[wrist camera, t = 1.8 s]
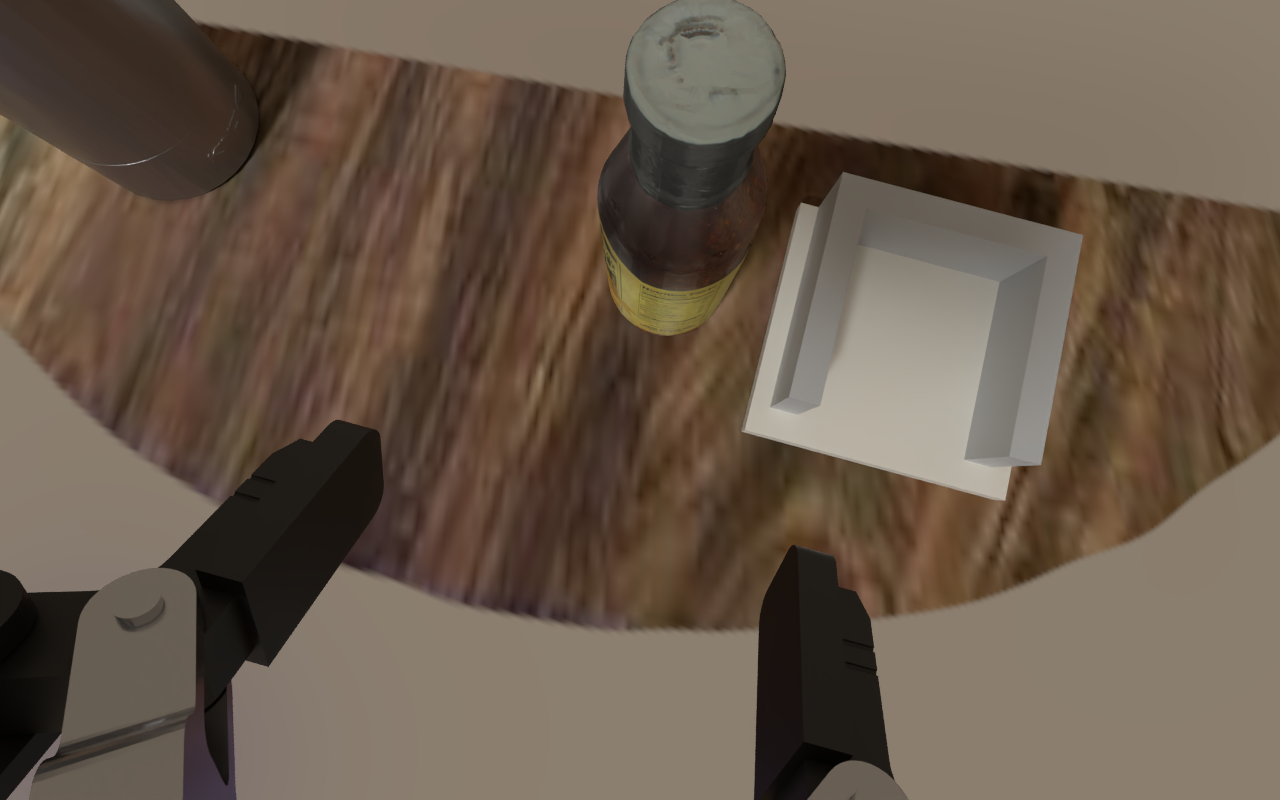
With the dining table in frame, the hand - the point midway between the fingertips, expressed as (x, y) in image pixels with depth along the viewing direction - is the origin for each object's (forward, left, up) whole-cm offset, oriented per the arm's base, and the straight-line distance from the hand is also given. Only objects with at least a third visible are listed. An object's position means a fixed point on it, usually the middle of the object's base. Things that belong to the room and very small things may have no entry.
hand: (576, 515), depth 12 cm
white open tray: (+13, +12, -22) cm, 28 cm away
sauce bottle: (0, +12, -22) cm, 25 cm away
